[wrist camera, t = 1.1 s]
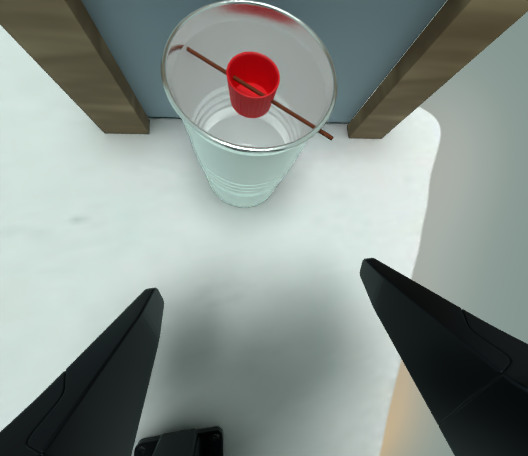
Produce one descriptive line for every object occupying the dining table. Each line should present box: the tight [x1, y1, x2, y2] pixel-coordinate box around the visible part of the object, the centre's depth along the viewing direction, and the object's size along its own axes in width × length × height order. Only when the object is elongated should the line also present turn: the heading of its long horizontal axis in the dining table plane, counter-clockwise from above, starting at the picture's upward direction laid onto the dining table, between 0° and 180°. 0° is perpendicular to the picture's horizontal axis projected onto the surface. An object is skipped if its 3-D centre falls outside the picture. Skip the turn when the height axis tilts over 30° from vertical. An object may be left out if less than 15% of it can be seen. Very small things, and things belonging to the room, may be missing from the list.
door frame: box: [0, 0, 528, 139], centre depth 14 cm, size 2×29×18 cm, turn 94°
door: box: [81, 0, 446, 123], centre depth 16 cm, size 2×21×14 cm, turn 94°
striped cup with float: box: [160, 0, 338, 207], centre depth 16 cm, size 10×8×12 cm
